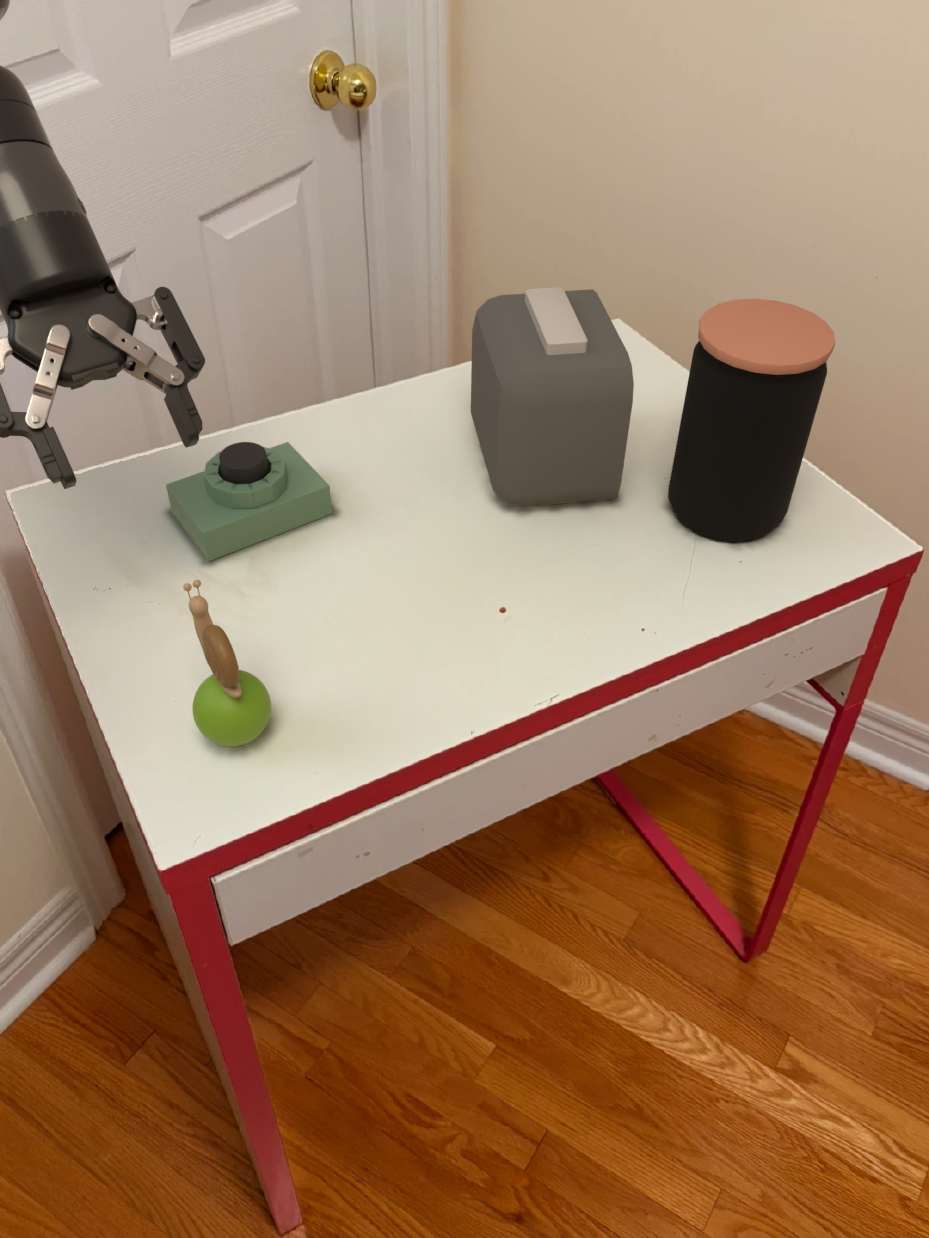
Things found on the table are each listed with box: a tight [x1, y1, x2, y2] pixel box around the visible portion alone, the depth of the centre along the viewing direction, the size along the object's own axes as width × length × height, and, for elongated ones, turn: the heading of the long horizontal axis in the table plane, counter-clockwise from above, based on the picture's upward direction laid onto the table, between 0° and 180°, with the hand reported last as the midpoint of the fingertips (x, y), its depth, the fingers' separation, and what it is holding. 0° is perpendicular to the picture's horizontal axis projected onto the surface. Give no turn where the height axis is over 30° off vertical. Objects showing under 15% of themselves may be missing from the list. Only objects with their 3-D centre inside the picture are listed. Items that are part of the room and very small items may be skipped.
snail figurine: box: [183, 579, 272, 747], centre depth 72 cm, size 5×6×12 cm
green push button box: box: [165, 441, 333, 562], centre depth 92 cm, size 12×8×5 cm, turn 124°
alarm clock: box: [470, 286, 635, 508], centre depth 95 cm, size 16×11×16 cm
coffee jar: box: [667, 298, 836, 544], centre depth 89 cm, size 11×11×18 cm
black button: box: [219, 441, 269, 484], centre depth 90 cm, size 4×4×2 cm
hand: (133, 464), depth 70 cm, fingers open, 8 cm apart
